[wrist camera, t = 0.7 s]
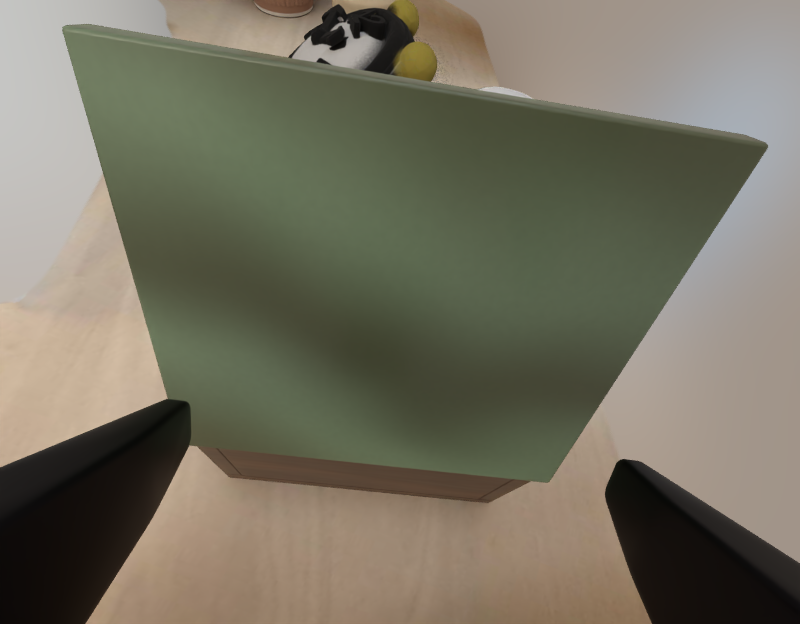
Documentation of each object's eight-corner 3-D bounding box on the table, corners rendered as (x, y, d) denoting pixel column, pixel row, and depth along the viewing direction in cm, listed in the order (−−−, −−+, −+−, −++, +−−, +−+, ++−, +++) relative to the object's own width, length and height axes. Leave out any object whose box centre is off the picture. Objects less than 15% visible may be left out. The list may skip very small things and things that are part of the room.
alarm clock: (292, 142, 42) (338, -35, 34) (406, 217, 39) (487, 41, 31) (190, 143, 32) (219, -103, 24) (330, 243, 29) (418, -3, 21)
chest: (281, 293, 27) (266, 219, 22) (480, 319, 28) (516, 255, 23) (228, 477, 21) (189, 439, 15) (488, 503, 22) (541, 476, 16)
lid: (86, 23, 8) (57, 24, 7) (746, 134, 9) (772, 144, 8) (189, 427, 15) (180, 445, 15) (543, 465, 16) (549, 484, 16)
